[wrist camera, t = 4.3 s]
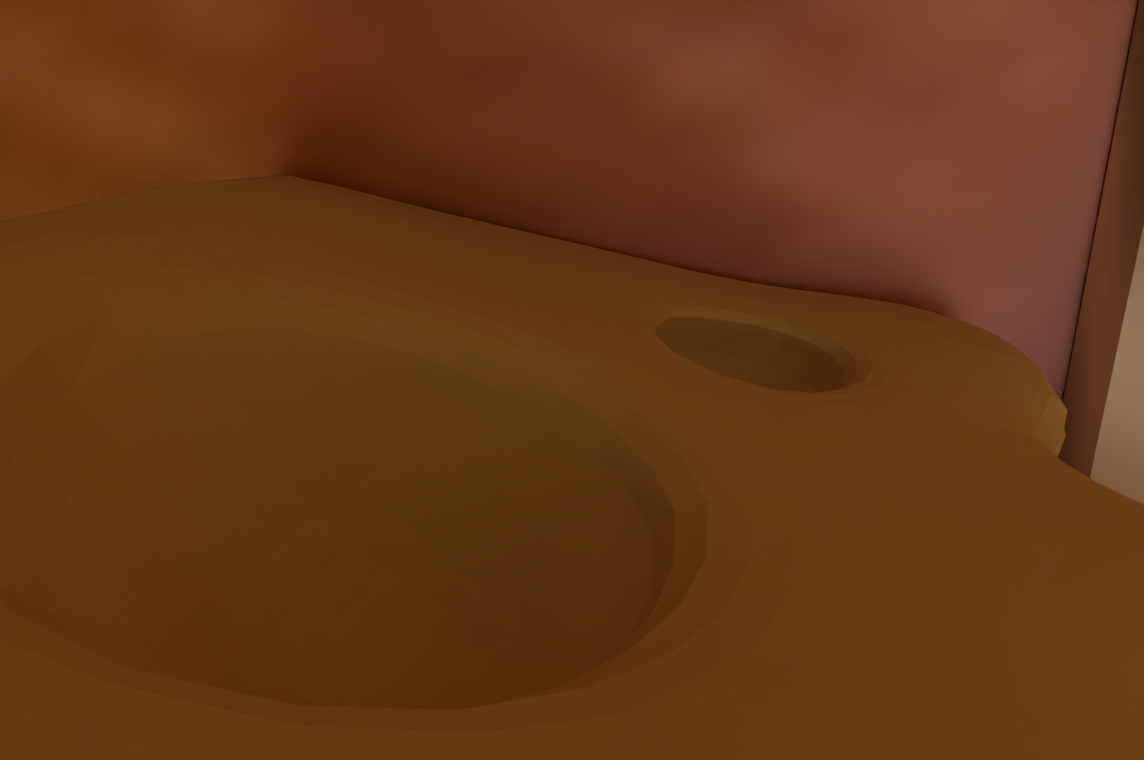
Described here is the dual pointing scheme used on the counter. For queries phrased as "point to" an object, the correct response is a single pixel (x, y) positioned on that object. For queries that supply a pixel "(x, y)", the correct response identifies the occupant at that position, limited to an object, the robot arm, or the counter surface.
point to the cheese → (525, 504)
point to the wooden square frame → (1114, 311)
